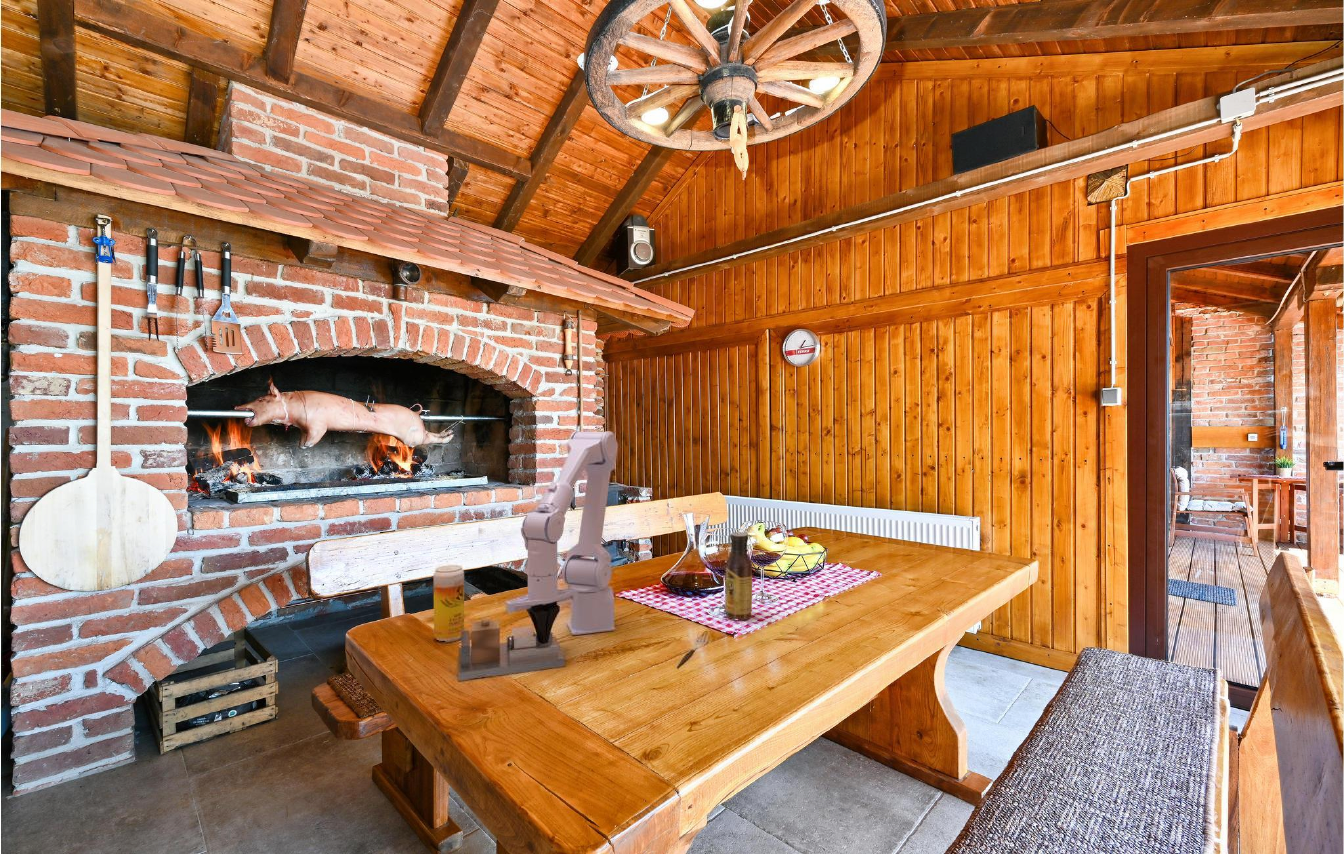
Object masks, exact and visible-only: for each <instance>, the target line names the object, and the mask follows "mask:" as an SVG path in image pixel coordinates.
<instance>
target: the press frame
mask: <svg viewBox="0 0 1344 854" xmlns="http://www.w3.org/2000/svg"><path fill="white" fill-rule="evenodd" d="M470 632H471V631H470V630H464V631H461V638H460V647H459V648H458V668H457V670H458V671H457V672H458V673H457V674H458V675H457V676H458V677H457V679H458V682H462V681H468V680H469V681H470V680H476V679H475V678H478V679H483V678H482V677H485V678H488V677H487V676H492V677H497V676H506V675H510V674H511V675H512V674H520V673H521V674H522V673H527V672H533V671H540V670H541V671H542V670H547V669H548V670H549V669H555V668H561V667H562V668H563V667H566V658H565V655H564V653H563V651H562V648H561V646H560V643H559V642H558V638H557V636H554V635H553V631H552V630H551V632H550V636H549V641H548V643H545V644H541V643H540V642H538V639H537V634H536V632H535V635H536V648H528V649H520V650H513V649H510V650H508V647H507V642H500V660H495V661H487V662H479V663H472V655H471V643H470V642H471V639H470V638H471V636H470V635H471V633H470Z"/></svg>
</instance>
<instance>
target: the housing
mask: <svg viewBox="0 0 1344 854" xmlns="http://www.w3.org/2000/svg"><path fill="white" fill-rule="evenodd" d="M470 624H471V626H470V627H471V628H470V632H471V633H470V635H471V636H470V638H471V639H470V642H471V643H470V647H471V655H472V663H479V662H487V661H495V660H500V643H501V632H500V631H501V629H500V622H499V619H491V620H490V618H489V617H483V618H481V620H480V621H475V622H474V621H473V622H470Z"/></svg>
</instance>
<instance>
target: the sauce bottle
mask: <svg viewBox="0 0 1344 854" xmlns="http://www.w3.org/2000/svg"><path fill="white" fill-rule="evenodd" d="M730 541H731V542H730V545H731V546H730V547H731V549H730V553H729V556H728V559H727V562H726V564H725V588H724V589H725V590H724V592H725V597H724V598H725V601H724V602H725V603H724V604H725V605H724V608H725V616H726V617H727V618H728V617H729V618H728V619H730V620H732V619H738V620H737V621H744V620H743V619H747V620H749V619H750V618H751V616H752V611H753V609H752V608H753V605H752V603H753V573H752V571H753V568H752V567H753V563H752V560H751V557H750V556H749V554H748V550H749V549H748V541H749V534H748V533H747V532H740V531H739V532H737V531H735V532H732V533H730Z"/></svg>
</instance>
